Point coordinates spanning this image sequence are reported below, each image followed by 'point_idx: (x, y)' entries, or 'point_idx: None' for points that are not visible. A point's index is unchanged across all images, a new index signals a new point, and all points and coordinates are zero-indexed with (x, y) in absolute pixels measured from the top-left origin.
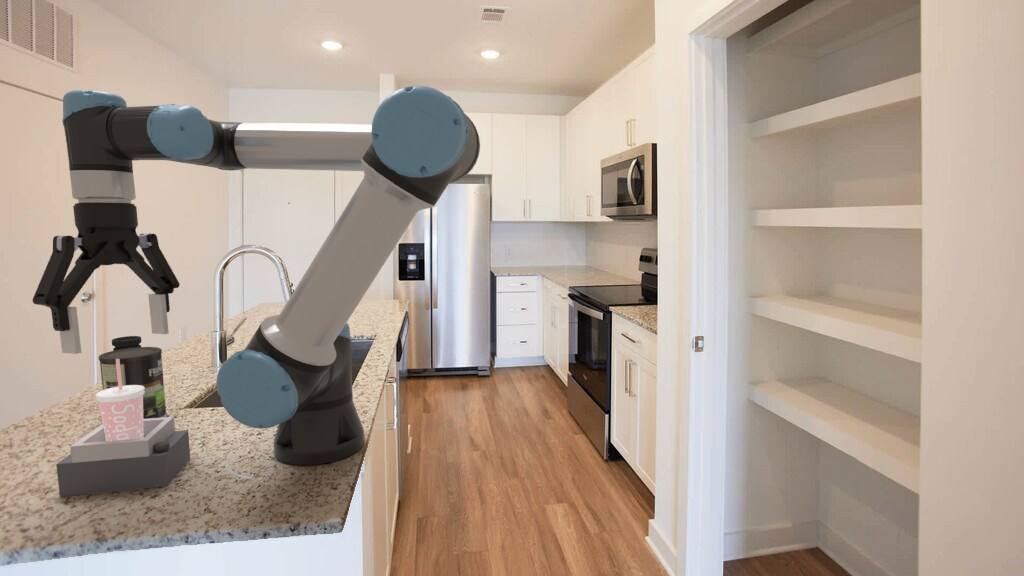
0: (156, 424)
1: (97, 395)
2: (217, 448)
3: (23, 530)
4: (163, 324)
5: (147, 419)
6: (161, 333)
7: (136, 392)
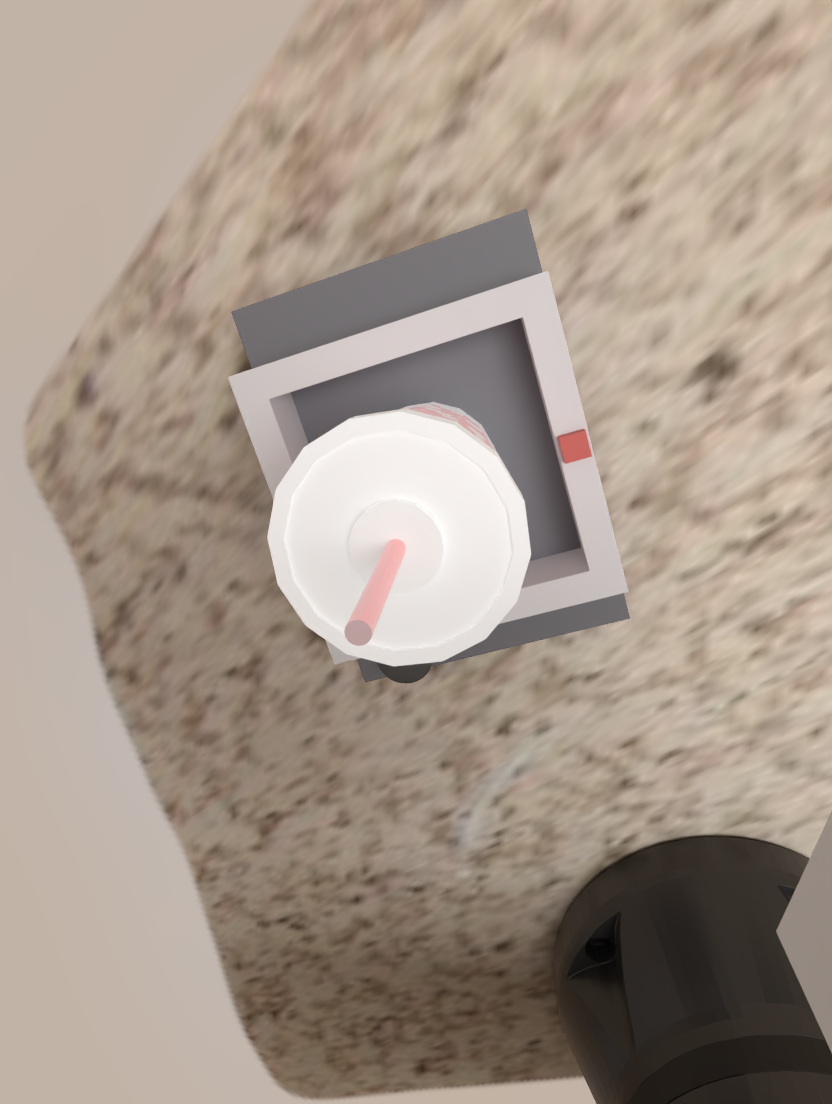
0: (577, 526)
1: (297, 467)
2: (710, 620)
3: (82, 391)
4: (827, 1033)
5: (585, 483)
6: (793, 901)
7: (379, 662)
